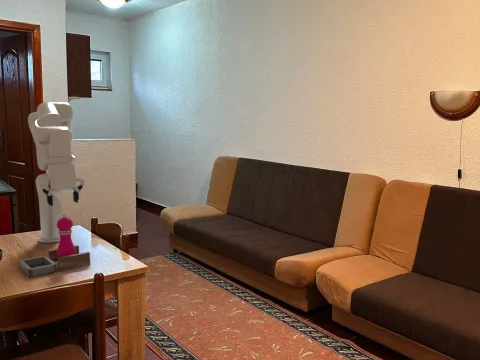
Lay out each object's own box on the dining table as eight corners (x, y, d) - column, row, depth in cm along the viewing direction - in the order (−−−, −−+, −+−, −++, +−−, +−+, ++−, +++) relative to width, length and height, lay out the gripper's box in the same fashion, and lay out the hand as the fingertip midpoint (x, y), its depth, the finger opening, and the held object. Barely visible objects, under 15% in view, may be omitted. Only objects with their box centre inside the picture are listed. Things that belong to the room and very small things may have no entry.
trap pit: (19, 267, 180) (18, 260, 179) (45, 262, 186) (45, 255, 186) (29, 277, 169) (29, 270, 169) (57, 272, 175) (57, 264, 175)
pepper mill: (70, 266, 181) (67, 216, 178) (53, 265, 182) (50, 215, 179) (79, 260, 188) (77, 212, 185) (63, 259, 189) (61, 211, 186)
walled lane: (48, 262, 186) (48, 250, 186) (78, 256, 194) (77, 245, 193) (59, 271, 176) (58, 258, 176) (90, 264, 184) (89, 252, 183)
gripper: (79, 157, 187) (81, 199, 190) (34, 160, 176) (37, 204, 179) (86, 159, 181) (88, 202, 184) (40, 162, 170) (43, 208, 173)
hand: (63, 203), depth 181 cm, fingers open, 9 cm apart
